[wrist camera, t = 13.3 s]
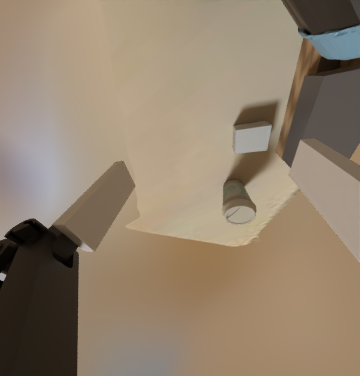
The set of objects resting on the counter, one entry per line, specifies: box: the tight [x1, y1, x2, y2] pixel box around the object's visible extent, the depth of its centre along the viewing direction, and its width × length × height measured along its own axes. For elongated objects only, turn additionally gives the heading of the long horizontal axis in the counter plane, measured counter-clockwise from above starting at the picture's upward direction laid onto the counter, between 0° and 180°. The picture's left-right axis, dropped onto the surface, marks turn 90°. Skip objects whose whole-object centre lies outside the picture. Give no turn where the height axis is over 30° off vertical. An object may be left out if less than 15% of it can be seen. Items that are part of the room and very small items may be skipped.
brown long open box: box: [276, 38, 360, 161], centre depth 26 cm, size 22×8×4 cm, turn 11°
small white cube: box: [233, 121, 272, 154], centre depth 33 cm, size 6×7×4 cm
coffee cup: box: [221, 179, 256, 225], centre depth 40 cm, size 8×8×12 cm
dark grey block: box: [282, 64, 360, 168], centre depth 26 cm, size 15×9×8 cm, turn 11°
